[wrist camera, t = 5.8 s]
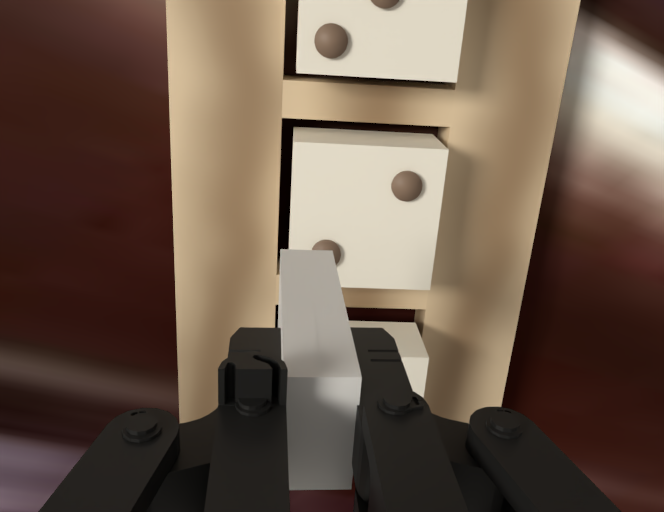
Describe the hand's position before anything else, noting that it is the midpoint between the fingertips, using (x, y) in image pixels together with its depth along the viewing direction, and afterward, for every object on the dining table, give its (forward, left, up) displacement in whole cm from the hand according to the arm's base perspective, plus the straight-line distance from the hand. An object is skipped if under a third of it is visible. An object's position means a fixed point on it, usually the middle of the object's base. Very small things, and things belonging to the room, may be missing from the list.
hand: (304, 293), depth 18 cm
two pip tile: (+3, 0, -10) cm, 11 cm away
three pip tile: (+3, +8, -10) cm, 14 cm away
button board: (+3, 0, -11) cm, 12 cm away
